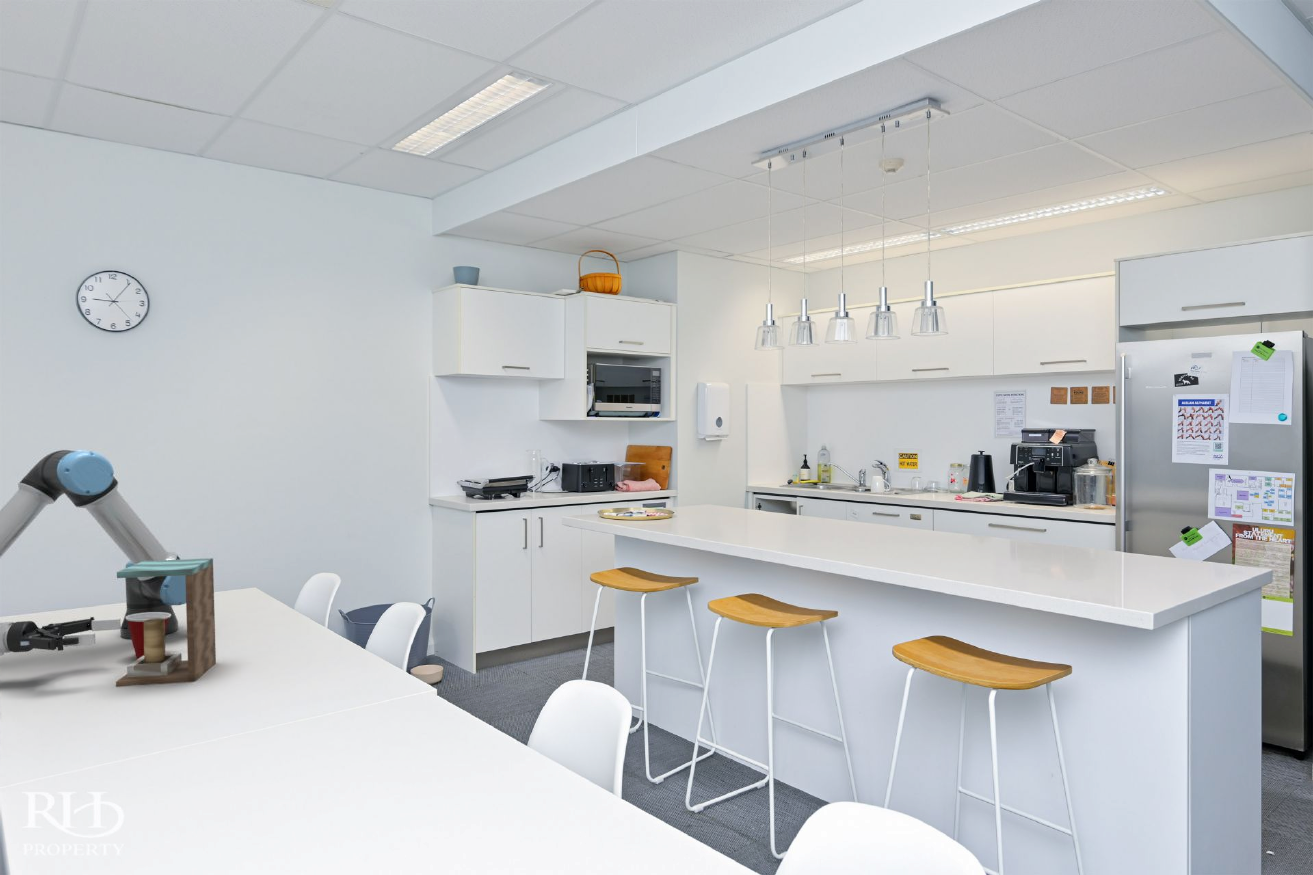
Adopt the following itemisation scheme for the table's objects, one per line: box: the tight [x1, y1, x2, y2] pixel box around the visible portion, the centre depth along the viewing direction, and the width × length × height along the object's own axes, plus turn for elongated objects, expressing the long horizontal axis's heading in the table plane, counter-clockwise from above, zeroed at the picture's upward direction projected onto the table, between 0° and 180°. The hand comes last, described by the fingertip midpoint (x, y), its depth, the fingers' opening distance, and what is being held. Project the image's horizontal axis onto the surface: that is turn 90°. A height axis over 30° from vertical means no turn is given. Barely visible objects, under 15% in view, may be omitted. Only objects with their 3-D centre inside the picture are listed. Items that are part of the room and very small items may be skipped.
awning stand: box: [115, 557, 217, 687], centre depth 209 cm, size 15×18×28 cm
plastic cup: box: [126, 612, 171, 660], centre depth 224 cm, size 11×11×12 cm
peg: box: [144, 618, 166, 664], centre depth 208 cm, size 5×5×13 cm
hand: (107, 631), depth 206 cm, fingers open, 13 cm apart
